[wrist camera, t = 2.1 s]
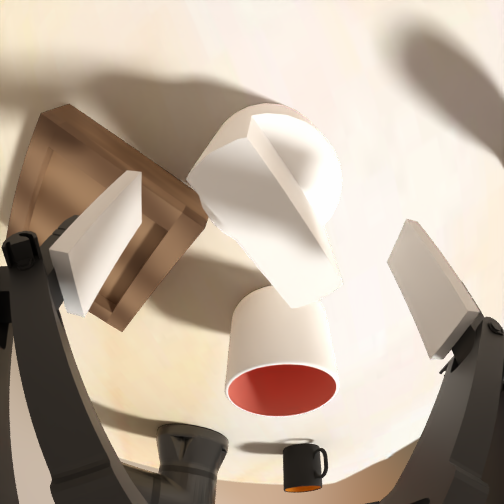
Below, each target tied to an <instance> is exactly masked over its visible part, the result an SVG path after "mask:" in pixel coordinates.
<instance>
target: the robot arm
mask: <svg viewBox="0 0 504 504" xmlns="http://www.w3.org/2000/svg"><path fill="white" fill-rule="evenodd" d="M141 179H142V172H138V171H128V170H127V171H126V172H125V173H123V174H122V175H121V176H120V177H119V178H118V179H117V180H116V181H115V182H114V183H113V184H111V185H110V186H109V187H108V188H107V189H106V190H105V191H104V192H103V193H102V194H101V195H100V196H99V197H98V198H97V199H96V200H95V201H94V202H93V203H92V204H91V205H90V206H89V207H88V208H87V209H86V210H85V211H84V212H83V213H82V214H81V215H74V216H72V217H70V218H68V219H66V220H65V221H64V222H63V223H62V224H61V225H60V226H59V227H58V229H56V230H55V231H54V232H53V233H52V235H50V236H49V237H48V238H47V239H46V241H45V242H44V243H43V244H42V245H41V246H39V242H38V238H37V235H36V233H34V232H32V231H21V232H18V233H15V234H13V235H11V236H10V237H8V238H7V239H6V240H5V241H4V243H3V245H2V250H3V253H4V257H5V260H6V263H7V266H1V267H0V504H19V500H18V495H17V489H16V484H15V478H14V470H13V462H12V452H11V440H10V422H9V386H10V366H11V354H12V344H13V335H14V342H15V349H16V355H17V361H18V366H19V371H20V376H21V381H22V385H23V390H24V394H25V398H26V402H27V406H28V409H29V413H30V416H31V420H32V423H33V426H34V429H35V432H36V436H37V439H38V442H39V444H40V447H41V450H42V453H43V456H44V458H45V461H46V463H47V466H48V468H49V471H50V474H51V477H52V482H51V485H50V490H51V494H52V497H53V499H54V502H55V504H215V495H216V481H217V473H218V471H219V468H220V466H221V464H222V462H223V460H224V458H225V456H226V454H227V451H228V439H227V438H226V437H225V436H223V435H221V434H219V433H217V432H215V431H212V430H209V429H205V428H201V427H197V426H191V425H181V424H170V425H164V426H161V427H160V428H159V429H158V432H157V437H156V440H157V447H158V453H159V459H160V467H159V473H154V472H150V471H147V470H144V469H140V468H138V467H134V466H131V465H128V464H125V463H123V462H120V460H119V458H118V456H117V454H116V452H115V451H114V449H113V447H112V445H111V443H110V441H109V439H108V437H107V435H106V433H105V431H104V429H103V427H102V425H101V423H100V421H99V419H98V416H97V414H96V412H95V410H94V408H93V405H92V403H91V401H90V398H89V396H88V393H87V391H86V389H85V386H84V384H83V381H82V378H81V376H80V373H79V370H78V368H77V365H76V362H75V359H74V357H73V354H72V351H71V348H70V345H69V341H68V338H67V335H66V332H65V328H64V325H63V322H62V318H61V314H60V312H59V307H60V305H61V304H62V302H63V301H64V304H65V307H66V310H67V313H71V314H74V315H78V316H81V317H85V316H86V314H87V312H88V310H89V309H90V307H91V305H92V303H93V301H94V300H95V298H96V296H97V294H98V293H99V291H100V289H101V287H102V286H103V284H104V282H105V280H106V279H107V277H108V275H109V274H110V272H111V270H112V269H113V267H114V265H115V264H116V262H117V261H118V259H119V257H120V256H121V254H122V253H123V251H124V249H125V248H126V246H127V245H128V243H129V241H130V240H131V238H132V237H133V235H134V234H135V232H136V231H137V229H138V228H139V226H140V225H141V223H142V205H141ZM387 263H388V265H389V267H390V269H391V271H392V273H393V275H394V277H395V280H396V282H397V284H398V286H399V288H400V290H401V292H402V294H403V296H404V299H405V301H406V303H407V305H408V307H409V310H410V312H411V314H412V316H413V319H414V321H415V323H416V326H417V328H418V330H419V333H420V335H421V338H422V340H423V343H424V345H425V348H426V350H427V353H428V355H429V358H430V359H444V358H445V356H446V355H447V354H448V353H449V352H450V350H451V349H452V352H453V354H454V356H453V357H452V358H451V360H450V361H449V362H448V363H447V364H446V365H445V366H444V367H443V369H442V370H441V371H440V372H439V373H440V374H442V373H443V372H444V371H446V373H445V375H444V379H443V382H442V385H441V388H440V390H439V393H438V396H437V399H436V401H435V404H434V406H433V409H432V411H431V414H430V416H429V419H428V421H427V423H426V426H425V428H424V430H423V432H422V435H421V437H420V439H419V441H418V443H417V445H416V447H415V450H414V451H413V454H412V455H411V458H410V460H409V461H408V463H407V465H406V467H405V469H404V471H403V473H402V474H401V476H400V478H399V480H398V482H397V483H396V485H395V487H394V488H393V490H392V491H391V492H390V493H389V494H388V495H387V496H386V497H385V498H383V499H382V500H381V501H380V502H379V501H378V502H373V503H367V504H504V330H503V329H502V327H501V326H500V324H499V323H498V322H497V321H496V320H494V319H492V318H491V317H485V318H484V316H483V314H482V313H481V311H480V309H479V308H478V306H477V304H476V303H475V301H474V299H473V298H471V297H472V296H471V295H470V293H469V292H468V290H467V288H466V287H465V285H464V284H463V282H462V281H461V280H460V279H459V277H458V276H457V275H456V273H455V272H454V270H453V269H452V267H451V266H450V264H449V263H448V261H447V260H446V259H445V257H444V256H443V254H442V253H441V252H440V250H439V249H438V248H437V246H436V245H435V244H434V242H433V241H432V240H431V238H430V237H429V236H428V234H427V233H426V232H425V230H424V229H423V228H422V227H421V225H420V224H419V223H418V222H417V221H413V220H409V219H406V221H405V223H404V225H403V228H402V230H401V232H400V235H399V237H398V239H397V241H396V244H395V246H394V248H393V250H392V252H391V254H390V257H389V259H388V261H387Z"/></svg>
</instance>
